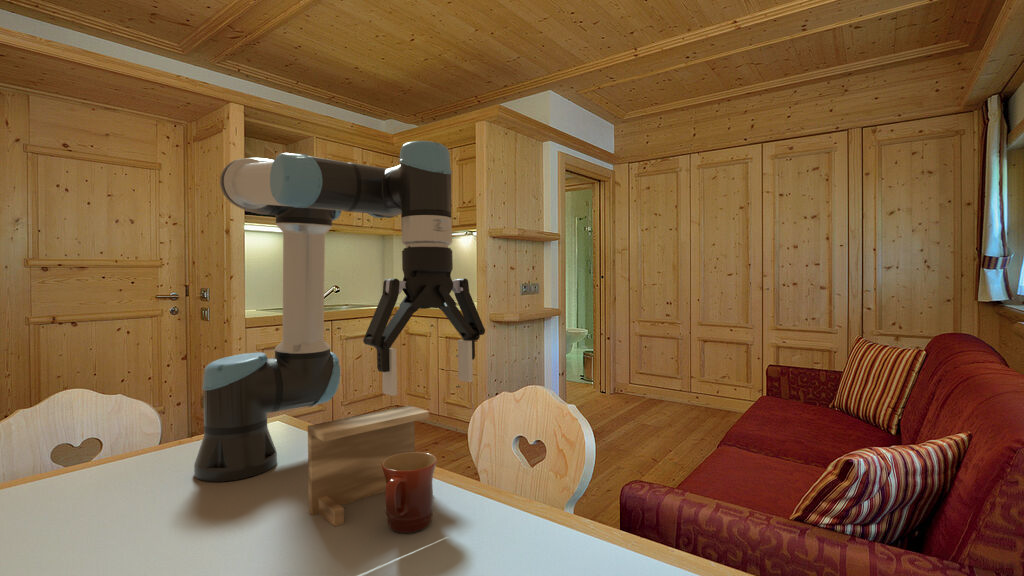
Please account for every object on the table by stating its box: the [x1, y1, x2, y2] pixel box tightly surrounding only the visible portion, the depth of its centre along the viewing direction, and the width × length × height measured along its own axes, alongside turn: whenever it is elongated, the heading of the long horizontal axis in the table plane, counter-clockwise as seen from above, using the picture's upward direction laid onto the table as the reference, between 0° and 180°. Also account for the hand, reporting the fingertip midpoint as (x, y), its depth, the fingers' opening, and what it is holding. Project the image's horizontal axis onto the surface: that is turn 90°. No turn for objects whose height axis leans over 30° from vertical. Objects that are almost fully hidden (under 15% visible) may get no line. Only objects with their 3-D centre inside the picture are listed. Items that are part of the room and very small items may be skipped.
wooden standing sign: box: [307, 405, 430, 527], centre depth 90 cm, size 8×20×15 cm, turn 133°
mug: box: [381, 451, 438, 534], centre depth 80 cm, size 12×9×10 cm
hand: (429, 387), depth 77 cm, fingers open, 13 cm apart
